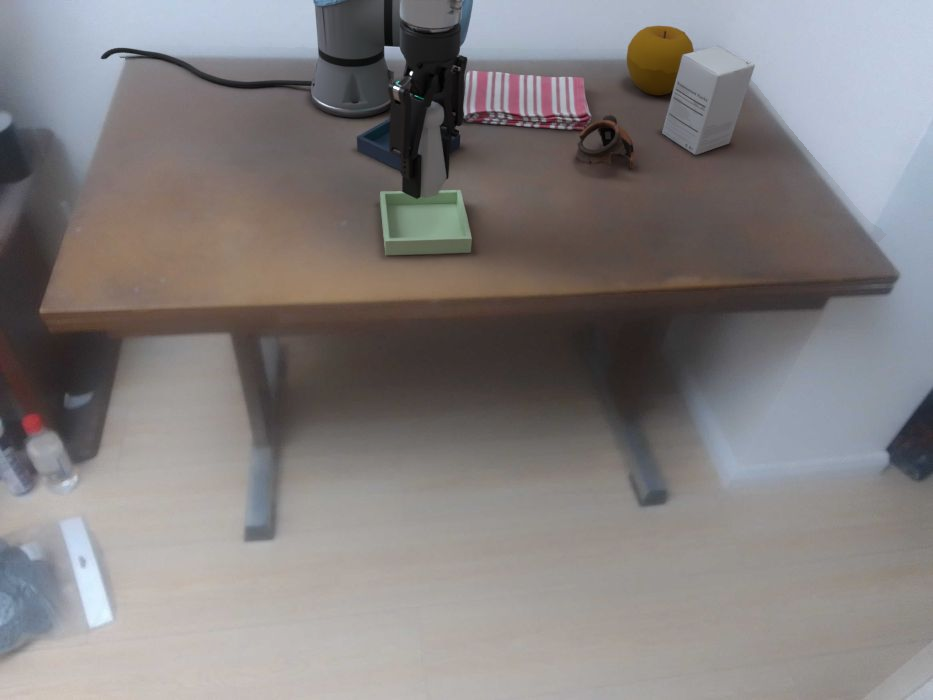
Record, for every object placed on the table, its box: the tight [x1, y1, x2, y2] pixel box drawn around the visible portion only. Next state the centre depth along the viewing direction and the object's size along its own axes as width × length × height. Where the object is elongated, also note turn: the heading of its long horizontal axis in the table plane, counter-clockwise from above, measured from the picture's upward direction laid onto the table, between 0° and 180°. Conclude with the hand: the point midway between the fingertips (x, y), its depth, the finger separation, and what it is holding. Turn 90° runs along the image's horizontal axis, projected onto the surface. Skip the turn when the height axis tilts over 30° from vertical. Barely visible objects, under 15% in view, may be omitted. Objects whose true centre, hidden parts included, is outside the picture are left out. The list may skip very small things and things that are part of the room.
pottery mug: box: [576, 114, 635, 171], centre depth 130 cm, size 12×10×8 cm
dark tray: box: [356, 117, 462, 172], centre depth 129 cm, size 12×12×3 cm
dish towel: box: [463, 69, 592, 131], centre depth 143 cm, size 17×23×4 cm
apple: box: [626, 25, 695, 96], centre depth 149 cm, size 13×13×11 cm
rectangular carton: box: [661, 44, 756, 156], centre depth 134 cm, size 9×9×15 cm
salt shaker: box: [418, 101, 447, 198], centre depth 105 cm, size 6×6×13 cm
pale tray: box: [379, 189, 473, 256], centre depth 114 cm, size 12×12×3 cm
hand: (425, 184), depth 109 cm, fingers closed on salt shaker, 6 cm apart
